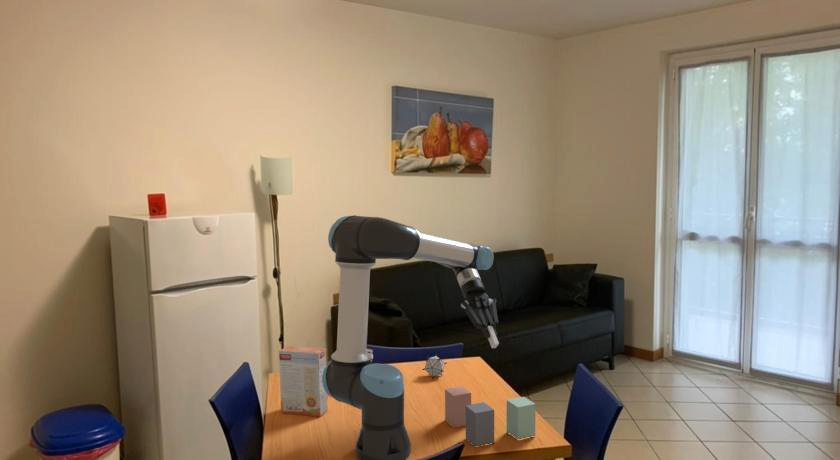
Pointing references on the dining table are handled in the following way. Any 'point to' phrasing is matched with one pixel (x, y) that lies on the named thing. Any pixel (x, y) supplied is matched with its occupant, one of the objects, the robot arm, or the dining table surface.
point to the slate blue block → (479, 424)
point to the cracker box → (302, 381)
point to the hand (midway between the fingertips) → (495, 345)
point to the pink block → (456, 406)
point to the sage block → (521, 417)
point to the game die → (434, 366)
